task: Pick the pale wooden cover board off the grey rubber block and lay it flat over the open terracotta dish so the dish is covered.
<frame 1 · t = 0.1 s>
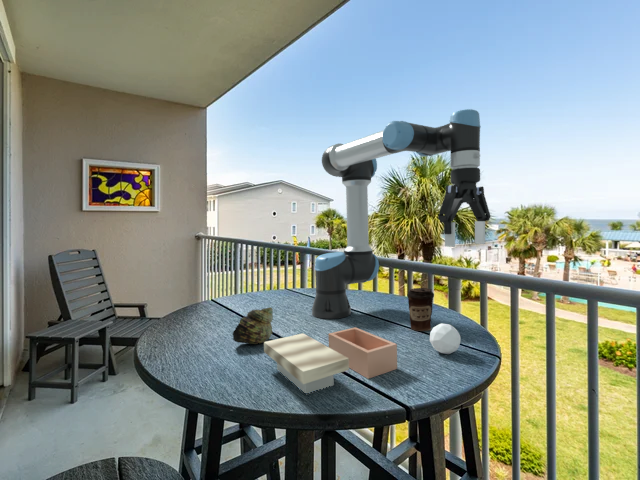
hand: (465, 245, 94), 28 cm above the table, tool pointing down, fingers open, 13 cm apart
rubber block: (303, 377, 77), on the table
seashell: (254, 342, 101), on the table
terracotta dish: (361, 362, 84), on the table
coffee cup: (421, 329, 109), on the table
cover board: (303, 360, 77), point 4 cm above the table, touching rubber block
geometric ball: (445, 353, 89), on the table
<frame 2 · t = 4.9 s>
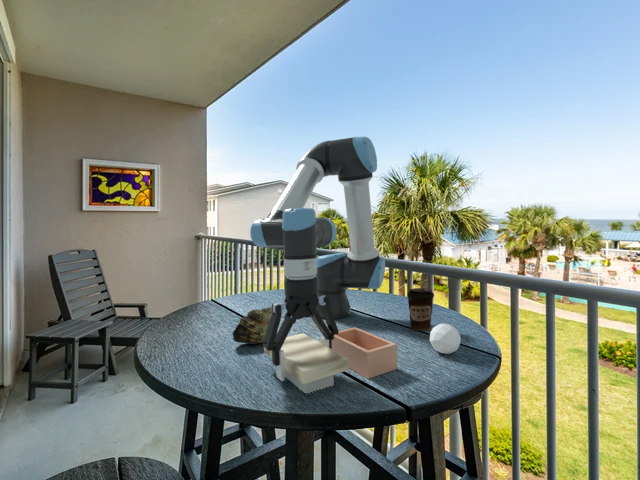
hand: (303, 371, 77), 1 cm above the table, tool pointing down, fingers closed on cover board, 11 cm apart
cover board: (303, 360, 77), point 4 cm above the table, touching gripper, rubber block
everything else where it was.
when the fingers open (4 cm above the table, at t = 10.6 s): cover board drops 1 cm, resting on terracotta dish.
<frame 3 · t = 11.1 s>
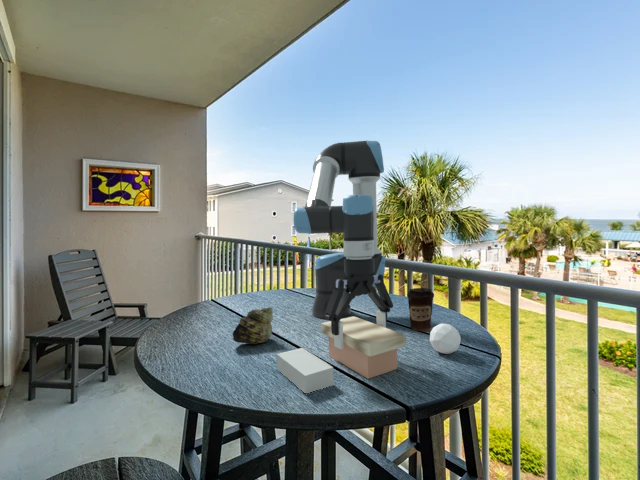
hand: (360, 341, 84), 5 cm above the table, tool pointing down, fingers open, 13 cm apart
cover board: (360, 338, 84), point 6 cm above the table, touching terracotta dish
everything else where it was.
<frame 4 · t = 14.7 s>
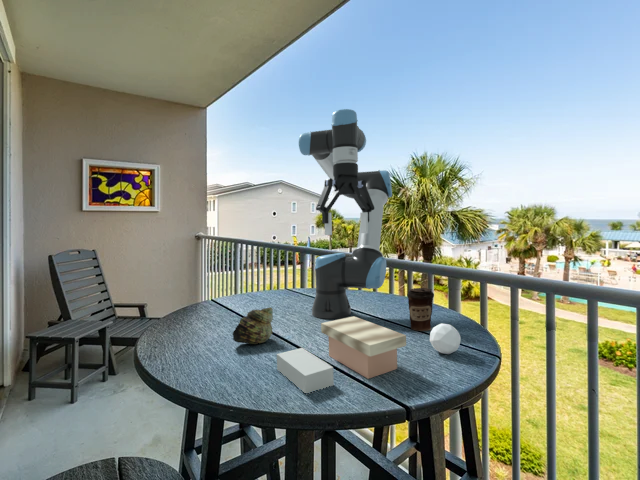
hand: (347, 234, 102), 32 cm above the table, tool pointing down, fingers open, 13 cm apart
nothing on the table moved.
at the end: cover board 0.0 cm off-centre on the terracotta dish, point 6.0 cm above the terracotta dish's base; cover board tilted 0°; the gripper is holding nothing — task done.
